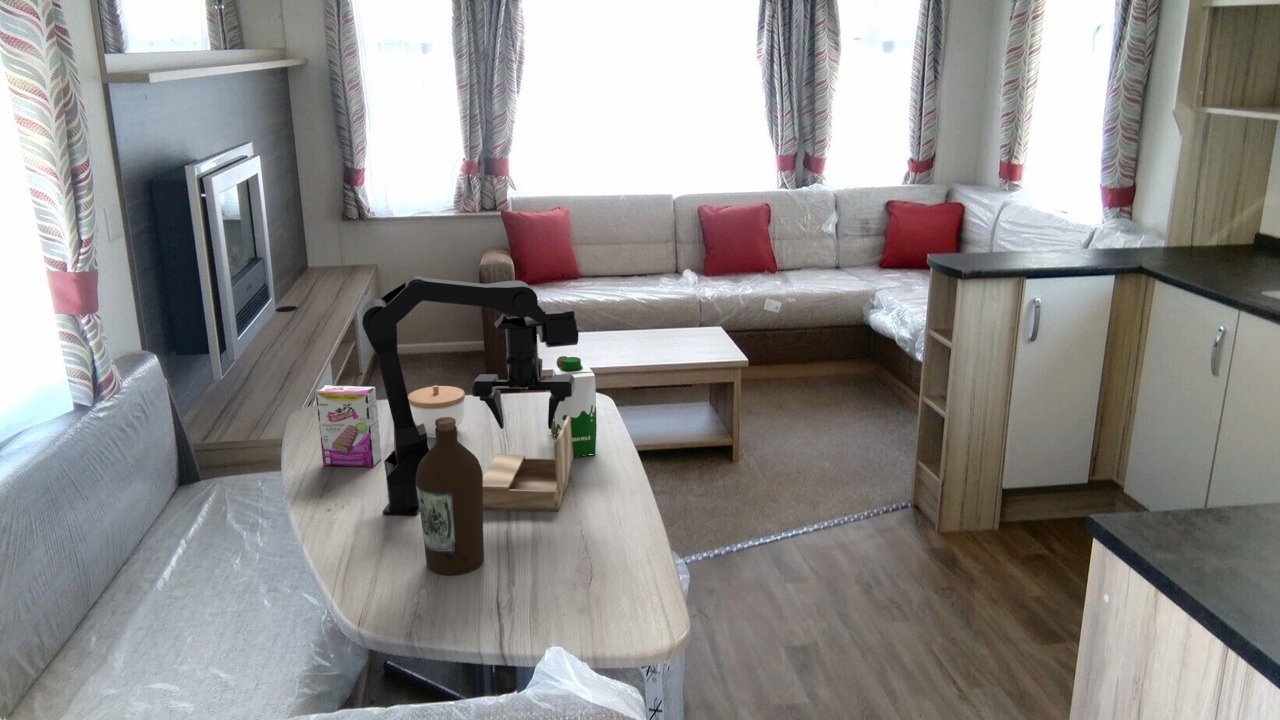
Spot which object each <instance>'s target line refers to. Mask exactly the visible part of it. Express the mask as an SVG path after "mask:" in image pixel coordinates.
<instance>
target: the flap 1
mask: <svg viewBox="0 0 1280 720" xmlns="http://www.w3.org/2000/svg"><path fill="white" fill-rule="evenodd" d="M525 458H526V454H510V453H509V454H508V453H507V454H505V453H503V454H502V453H500V454H497V453H496V454H495V455H494V458H492V460H491V462H490V464H489V466H488V467H487V469H486V470H485V472H484V474H483V489H489V490H509V488H510V486H511V484H512V482H513V480H514V478H515V476H516V475H517V473H518V471H519V469H520V467H521V465H522V463H523V461H524V459H525Z"/></svg>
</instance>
